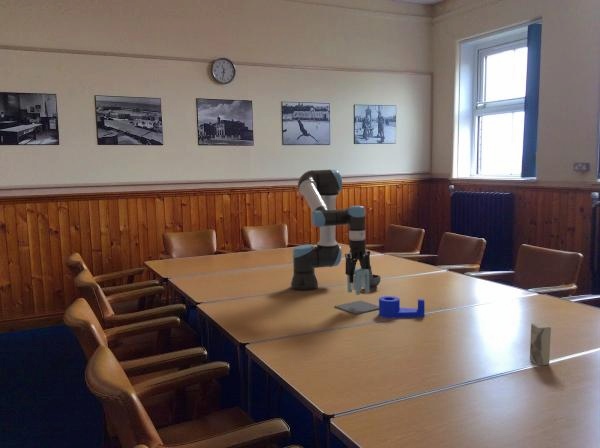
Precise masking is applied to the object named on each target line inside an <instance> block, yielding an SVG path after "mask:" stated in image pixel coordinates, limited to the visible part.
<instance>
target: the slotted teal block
mask: <svg viewBox="0 0 600 448" xmlns="http://www.w3.org/2000/svg"><path fill="white" fill-rule="evenodd" d="M363 274H365V288H364V289H365V290H364V292H365V293H367V294H369V293H371V292H370V291H371V290H369V269H362V268H361V267H355V271H354V276H355V287H356V290H355V295H357V296H359V295H361V291H362V287H361V275H363ZM346 279H347V293H349V294H350V293H353V290H352V289H351V285H350V282H349V275H347V278H346Z"/></svg>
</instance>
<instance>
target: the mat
mask: <svg viewBox="0 0 600 448" xmlns="http://www.w3.org/2000/svg"><path fill="white" fill-rule="evenodd" d="M334 308H335V309H338V310H341V311H344V312H347V313H350V314H354V315H356V316H357V315H361V314H365V313H370V312H373V311H379V305H377V304H373V303H371V302H367V301H364V300H357V301H351V302H348V303H343V304H338V305H334Z"/></svg>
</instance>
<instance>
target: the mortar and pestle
mask: <svg viewBox="0 0 600 448" xmlns="http://www.w3.org/2000/svg"><path fill="white" fill-rule="evenodd" d="M380 283H381V276H380V275H378V274H373V271H372V265H370V272H369V290H370V291H377V290H378V286H379V285H380ZM376 289H377V290H376Z"/></svg>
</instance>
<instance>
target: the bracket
mask: <svg viewBox="0 0 600 448" xmlns="http://www.w3.org/2000/svg"><path fill="white" fill-rule="evenodd" d="M400 300H401V299H400V297H398V296H392V295H387V296H386V295H385V296H381V297H379V298H378V306H379V310H378V315H379V317H381V318H385V319H402V318H425V316H426V315H425V299H424V298H417V308H410V307H401V304H400V303H401V301H400Z"/></svg>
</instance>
